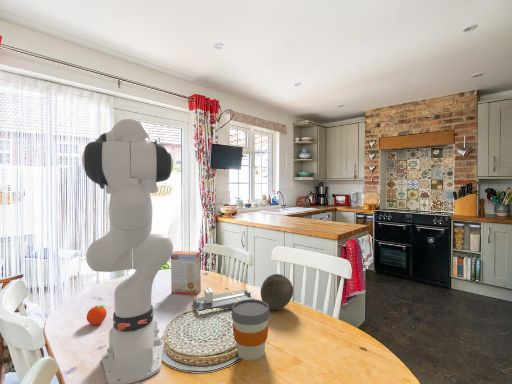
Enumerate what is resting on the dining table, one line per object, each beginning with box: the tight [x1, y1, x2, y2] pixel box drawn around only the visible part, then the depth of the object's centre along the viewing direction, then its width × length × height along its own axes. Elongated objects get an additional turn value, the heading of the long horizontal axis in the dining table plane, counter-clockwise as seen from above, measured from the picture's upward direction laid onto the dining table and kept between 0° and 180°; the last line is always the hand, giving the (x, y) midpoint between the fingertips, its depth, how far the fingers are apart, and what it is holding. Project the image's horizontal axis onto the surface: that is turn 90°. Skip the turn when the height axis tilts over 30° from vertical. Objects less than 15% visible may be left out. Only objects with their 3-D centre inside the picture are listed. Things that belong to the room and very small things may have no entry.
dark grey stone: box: [260, 273, 294, 311], centre depth 118 cm, size 14×14×15 cm
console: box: [192, 288, 255, 311], centre depth 124 cm, size 12×26×4 cm, turn 115°
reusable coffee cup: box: [231, 298, 270, 361], centre depth 88 cm, size 13×13×15 cm
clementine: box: [86, 304, 108, 326], centre depth 107 cm, size 8×7×7 cm
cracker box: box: [170, 250, 202, 296], centre depth 138 cm, size 14×6×21 cm, turn 78°
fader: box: [203, 287, 214, 303], centre depth 121 cm, size 5×3×5 cm, turn 25°
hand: (132, 203), depth 115 cm, fingers open, 8 cm apart
